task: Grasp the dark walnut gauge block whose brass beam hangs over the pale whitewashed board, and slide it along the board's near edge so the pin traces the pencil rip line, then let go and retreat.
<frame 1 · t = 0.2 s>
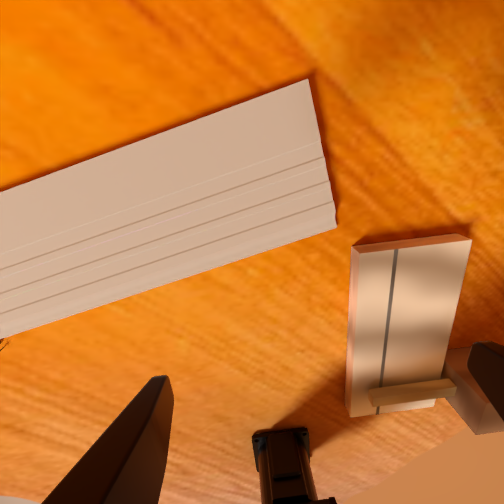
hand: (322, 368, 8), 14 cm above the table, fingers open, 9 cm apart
baseboard molding: (135, 234, 22), on the table
board: (392, 330, 26), on the table
gauge: (455, 362, 28), on the table
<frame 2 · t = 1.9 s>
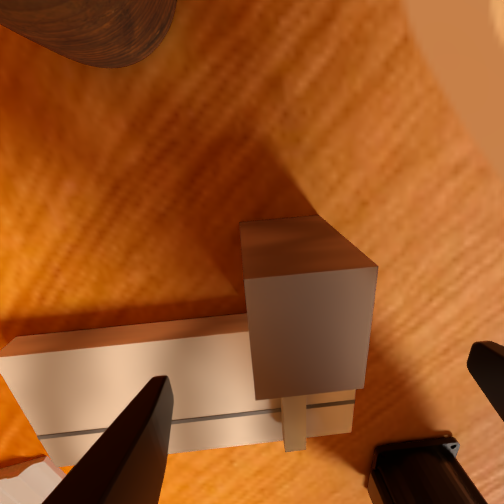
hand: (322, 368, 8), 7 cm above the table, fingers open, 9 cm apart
board: (198, 377, 17), on the table
gauge: (280, 263, 14), on the table
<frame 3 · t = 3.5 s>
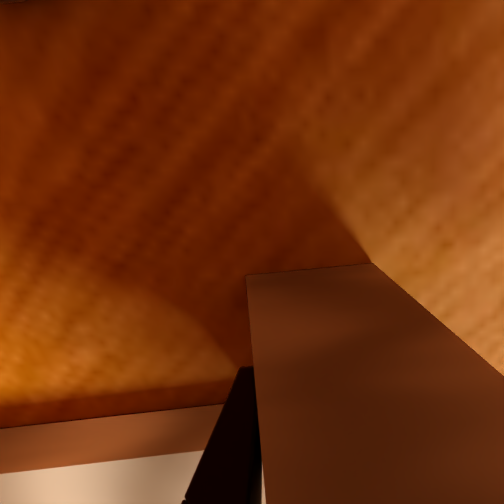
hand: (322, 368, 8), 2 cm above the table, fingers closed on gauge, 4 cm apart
board: (185, 480, 12), on the table
gauge: (308, 334, 9), on the table, touching gripper
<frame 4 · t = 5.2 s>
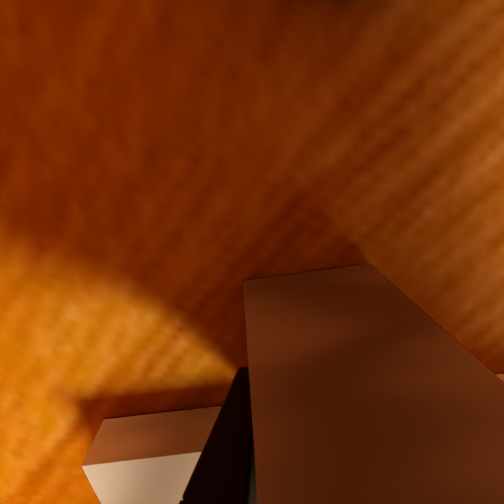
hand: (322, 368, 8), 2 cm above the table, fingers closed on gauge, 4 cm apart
board: (342, 462, 12), on the table
gauge: (309, 336, 9), on the table, touching gripper
when the fingers open (2 cm above the table, at t = 7.3 s): gauge stays where it is, on the table.
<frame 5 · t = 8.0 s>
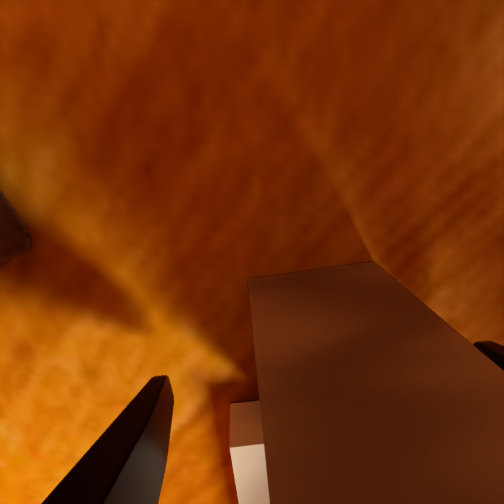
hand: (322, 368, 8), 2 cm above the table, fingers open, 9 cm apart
board: (446, 449, 12), on the table
gauge: (312, 333, 9), on the table
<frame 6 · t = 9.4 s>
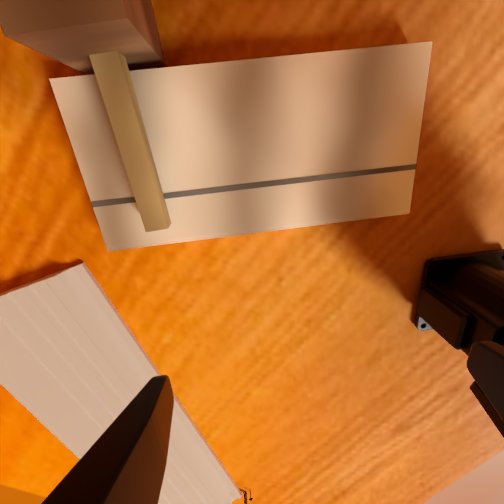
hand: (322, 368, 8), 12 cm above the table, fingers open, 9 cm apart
baseboard molding: (139, 413, 25), on the table
board: (252, 154, 16), on the table
gauge: (112, 11, 13), on the table
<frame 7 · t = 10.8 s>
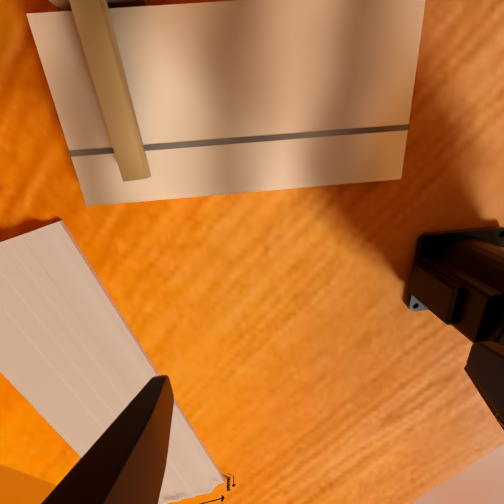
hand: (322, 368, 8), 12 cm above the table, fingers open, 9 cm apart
baseboard molding: (120, 388, 24), on the table
board: (239, 111, 16), on the table
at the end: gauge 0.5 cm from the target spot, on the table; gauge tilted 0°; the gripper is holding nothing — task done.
